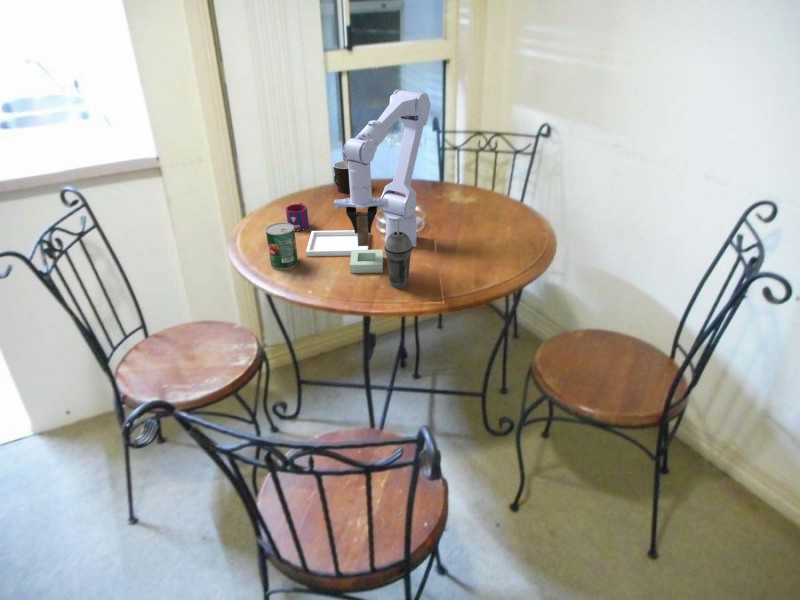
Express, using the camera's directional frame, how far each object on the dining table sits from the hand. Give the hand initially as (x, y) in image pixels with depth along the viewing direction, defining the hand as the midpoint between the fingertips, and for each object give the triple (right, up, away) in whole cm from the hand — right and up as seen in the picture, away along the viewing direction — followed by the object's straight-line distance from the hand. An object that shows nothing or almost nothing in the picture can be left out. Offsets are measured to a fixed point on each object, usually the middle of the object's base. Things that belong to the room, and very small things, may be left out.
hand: (363, 231), depth 157 cm
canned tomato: (-23, -8, +7) cm, 26 cm away
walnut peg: (0, -3, +2) cm, 4 cm away
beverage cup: (+10, -15, -4) cm, 19 cm away
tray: (-8, -3, +16) cm, 18 cm away
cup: (-22, +6, +29) cm, 37 cm away
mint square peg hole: (+1, -9, +5) cm, 10 cm away
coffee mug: (-11, +21, +54) cm, 59 cm away
